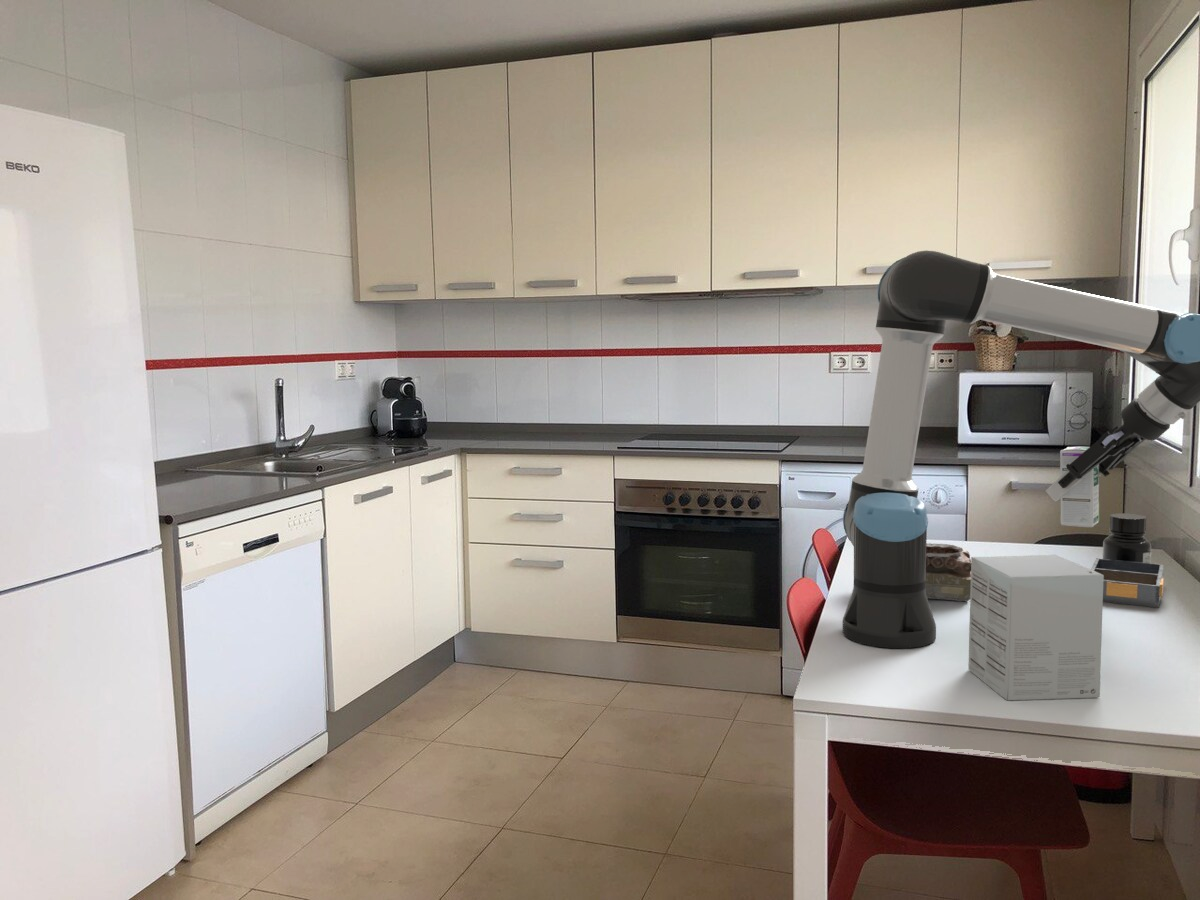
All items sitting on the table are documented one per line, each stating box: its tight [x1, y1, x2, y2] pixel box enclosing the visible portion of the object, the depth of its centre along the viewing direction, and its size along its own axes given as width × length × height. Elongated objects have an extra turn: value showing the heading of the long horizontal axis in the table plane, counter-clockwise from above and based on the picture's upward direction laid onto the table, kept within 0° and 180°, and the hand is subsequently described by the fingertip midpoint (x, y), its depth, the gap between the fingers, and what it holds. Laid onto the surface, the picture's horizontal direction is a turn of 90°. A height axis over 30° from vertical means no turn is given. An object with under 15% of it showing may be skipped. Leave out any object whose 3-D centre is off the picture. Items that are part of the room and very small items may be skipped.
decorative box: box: [926, 542, 971, 602], centre depth 183 cm, size 13×20×10 cm, turn 66°
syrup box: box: [1059, 446, 1100, 528], centre depth 178 cm, size 6×6×14 cm
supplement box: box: [968, 554, 1104, 701], centre depth 136 cm, size 13×13×18 cm
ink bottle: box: [1102, 513, 1152, 563], centre depth 200 cm, size 10×9×12 cm
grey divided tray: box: [1090, 557, 1165, 608], centre depth 185 cm, size 20×12×4 cm, turn 148°
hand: (1061, 493), depth 181 cm, fingers closed on syrup box, 7 cm apart
